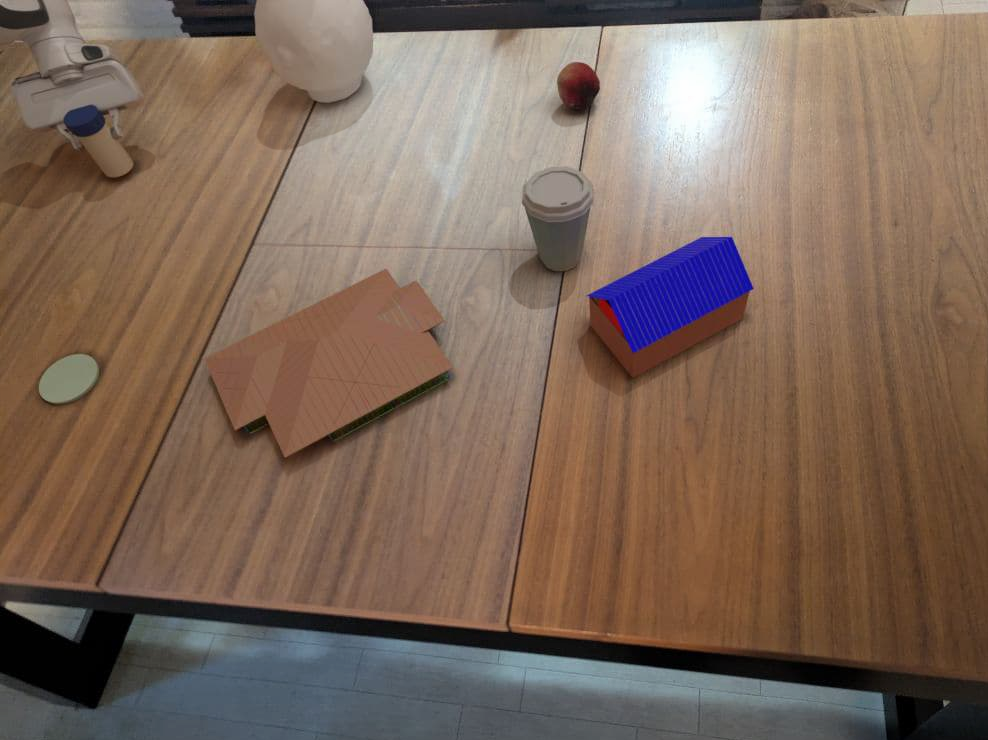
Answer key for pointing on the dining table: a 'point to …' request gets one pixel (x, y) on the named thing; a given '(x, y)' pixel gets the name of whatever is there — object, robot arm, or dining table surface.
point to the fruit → (578, 85)
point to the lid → (84, 120)
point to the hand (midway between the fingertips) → (100, 143)
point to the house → (671, 303)
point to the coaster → (69, 379)
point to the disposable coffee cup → (558, 214)
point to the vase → (316, 44)
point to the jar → (107, 152)
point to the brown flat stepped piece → (332, 362)
